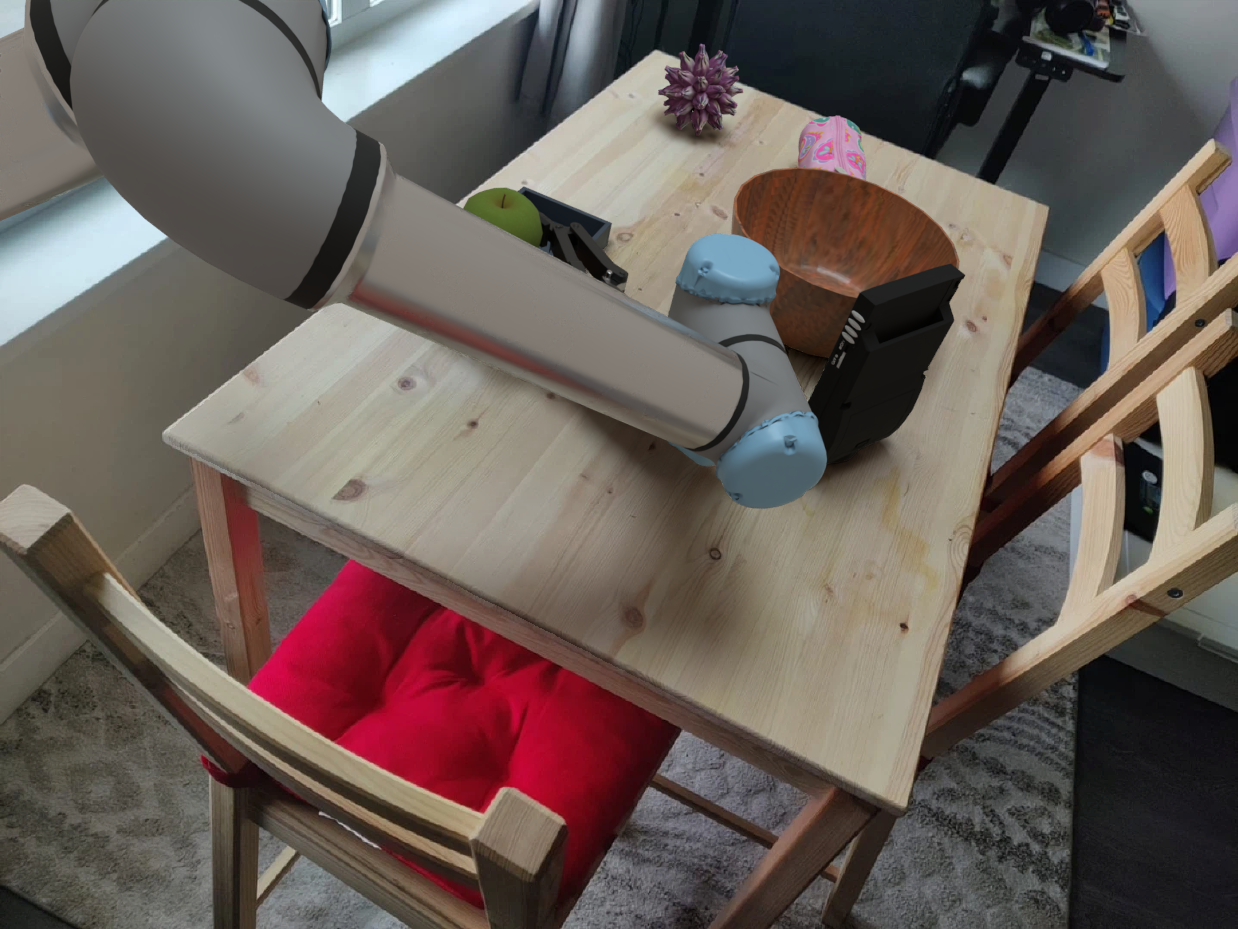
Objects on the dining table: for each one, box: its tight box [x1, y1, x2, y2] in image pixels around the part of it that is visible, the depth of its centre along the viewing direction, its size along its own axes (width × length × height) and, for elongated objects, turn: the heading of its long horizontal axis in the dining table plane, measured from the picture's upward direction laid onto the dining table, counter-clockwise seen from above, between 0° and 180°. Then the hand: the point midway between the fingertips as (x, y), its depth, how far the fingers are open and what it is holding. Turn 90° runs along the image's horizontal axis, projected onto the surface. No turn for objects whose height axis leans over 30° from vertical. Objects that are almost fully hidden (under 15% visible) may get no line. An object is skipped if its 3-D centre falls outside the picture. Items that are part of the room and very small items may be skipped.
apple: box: [462, 187, 543, 248], centre depth 93 cm, size 9×8×12 cm
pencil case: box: [797, 115, 867, 181], centre depth 120 cm, size 21×9×9 cm, turn 173°
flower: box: [657, 43, 744, 137], centre depth 128 cm, size 12×12×12 cm
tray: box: [517, 186, 613, 269], centre depth 100 cm, size 23×12×3 cm, turn 156°
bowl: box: [730, 166, 961, 359], centre depth 102 cm, size 25×25×12 cm
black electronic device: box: [807, 264, 966, 466], centre depth 83 cm, size 12×5×20 cm, turn 125°
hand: (471, 214), depth 94 cm, fingers closed on apple, 9 cm apart
